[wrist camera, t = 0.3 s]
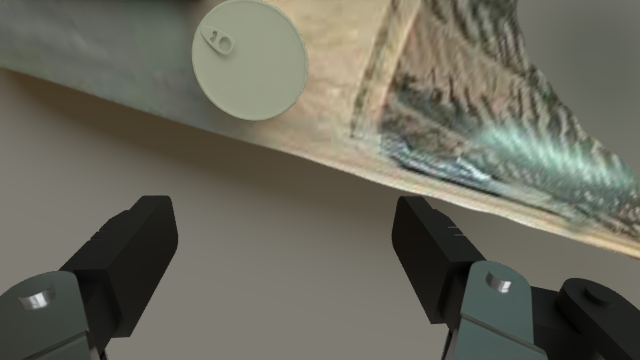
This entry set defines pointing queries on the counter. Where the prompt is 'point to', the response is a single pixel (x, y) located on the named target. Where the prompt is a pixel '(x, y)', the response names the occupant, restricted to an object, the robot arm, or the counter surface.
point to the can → (249, 59)
